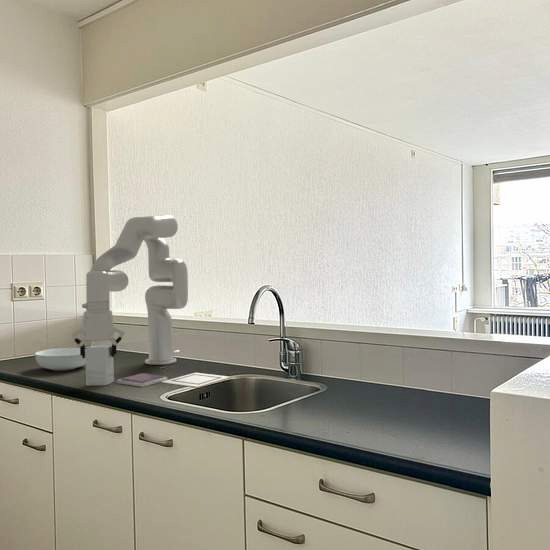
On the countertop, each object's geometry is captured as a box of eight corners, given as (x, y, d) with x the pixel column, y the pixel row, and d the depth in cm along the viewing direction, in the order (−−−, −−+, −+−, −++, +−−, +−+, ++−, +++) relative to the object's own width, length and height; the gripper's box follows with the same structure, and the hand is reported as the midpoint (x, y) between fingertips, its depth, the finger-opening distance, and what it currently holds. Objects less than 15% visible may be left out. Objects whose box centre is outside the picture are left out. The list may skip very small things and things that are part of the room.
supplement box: (114, 381, 199) (113, 345, 199) (106, 385, 192) (105, 348, 191) (94, 381, 200) (93, 345, 200) (85, 385, 193) (84, 348, 192)
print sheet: (195, 373, 211) (195, 372, 211) (230, 377, 202) (230, 376, 202) (161, 382, 195) (161, 381, 195) (197, 387, 187) (197, 386, 187)
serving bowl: (73, 374, 212) (73, 356, 212) (23, 373, 217) (23, 355, 216) (101, 364, 233) (101, 347, 233) (55, 363, 237) (54, 347, 237)
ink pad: (142, 376, 206) (142, 372, 206) (167, 380, 199) (167, 375, 199) (117, 383, 196) (116, 378, 196) (142, 386, 189) (142, 382, 189)
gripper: (69, 308, 189) (70, 359, 190) (123, 307, 193) (124, 357, 193) (72, 307, 197) (73, 356, 197) (124, 305, 201) (125, 354, 201)
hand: (98, 357), depth 195 cm, fingers open, 9 cm apart
